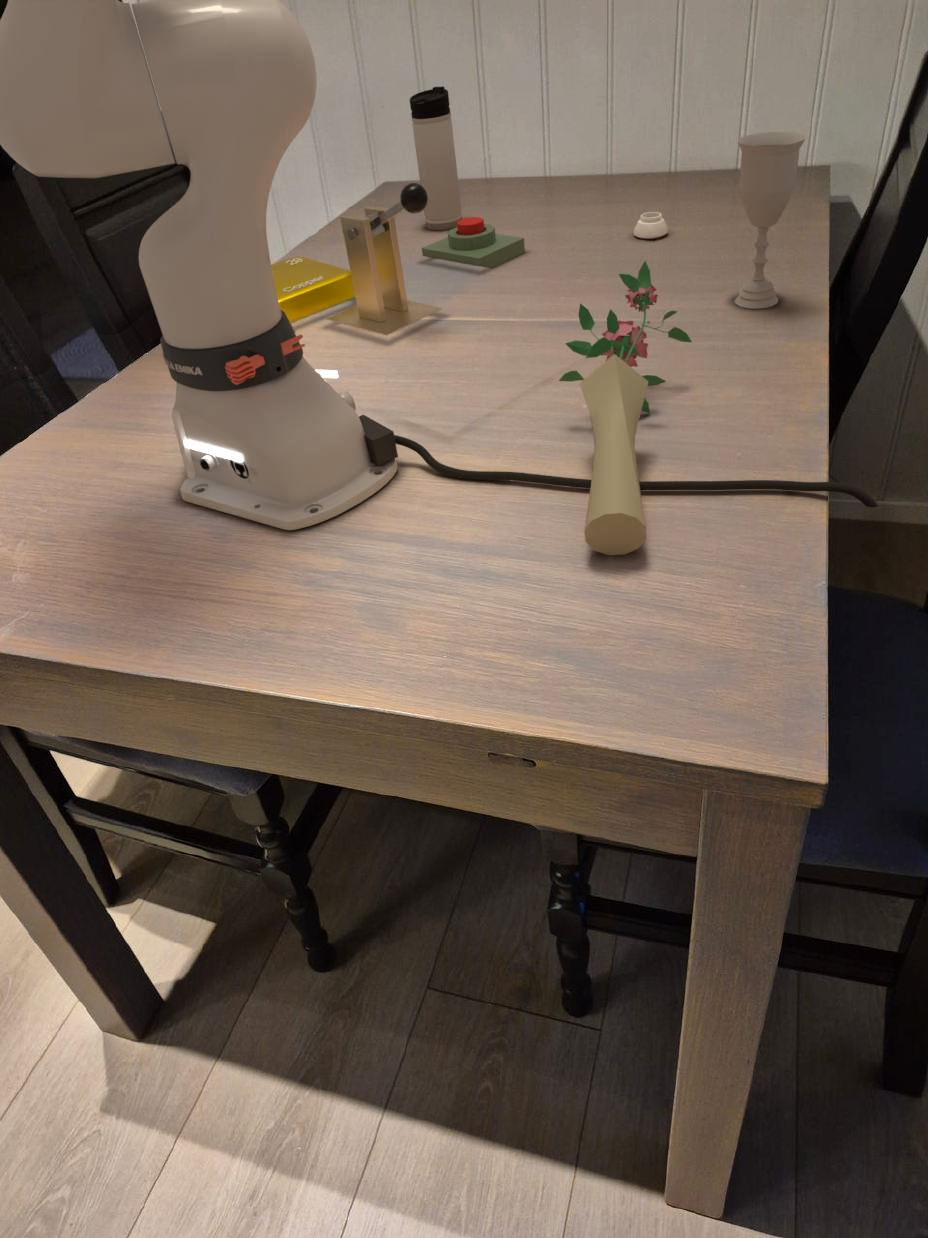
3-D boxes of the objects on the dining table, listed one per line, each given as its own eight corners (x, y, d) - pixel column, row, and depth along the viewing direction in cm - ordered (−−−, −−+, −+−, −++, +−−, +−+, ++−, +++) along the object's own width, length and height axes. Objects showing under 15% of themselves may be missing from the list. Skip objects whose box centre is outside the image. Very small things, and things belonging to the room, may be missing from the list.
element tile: (273, 337, 118) (264, 301, 115) (219, 315, 128) (209, 281, 125) (363, 302, 125) (356, 267, 122) (305, 283, 135) (298, 250, 132)
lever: (437, 203, 103) (425, 175, 102) (417, 210, 101) (405, 182, 100) (378, 240, 113) (367, 215, 112) (359, 247, 111) (348, 222, 110)
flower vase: (578, 613, 78) (584, 367, 99) (719, 584, 73) (693, 332, 94) (527, 526, 70) (545, 278, 91) (682, 486, 65) (662, 234, 86)
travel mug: (470, 219, 151) (456, 85, 139) (449, 231, 147) (433, 94, 135) (440, 218, 154) (424, 86, 142) (419, 229, 150) (400, 95, 138)
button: (490, 230, 133) (489, 218, 132) (472, 238, 131) (470, 226, 130) (470, 227, 135) (469, 215, 134) (452, 235, 133) (451, 223, 132)
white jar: (649, 242, 131) (674, 233, 133) (650, 221, 129) (675, 212, 131) (626, 236, 135) (651, 228, 136) (626, 216, 133) (651, 207, 135)
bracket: (443, 316, 117) (428, 205, 109) (388, 343, 112) (368, 229, 103) (382, 302, 124) (364, 197, 116) (328, 327, 119) (305, 218, 110)
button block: (525, 252, 134) (523, 224, 132) (480, 273, 129) (477, 245, 127) (467, 243, 141) (465, 216, 139) (423, 262, 136) (419, 235, 134)
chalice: (797, 296, 109) (817, 132, 98) (770, 315, 105) (787, 147, 94) (743, 287, 113) (756, 130, 102) (715, 305, 110) (725, 144, 98)
